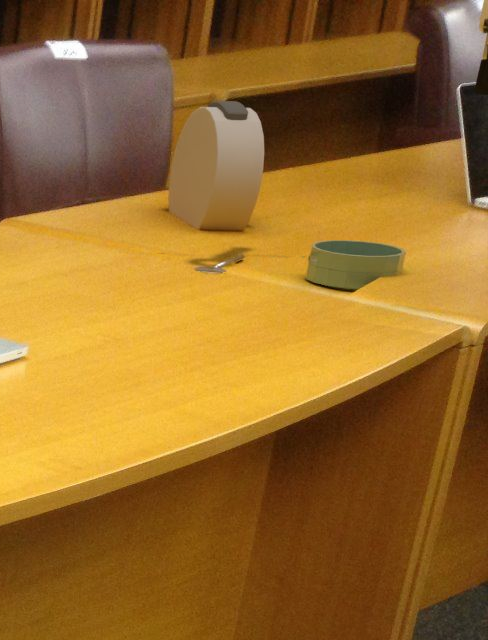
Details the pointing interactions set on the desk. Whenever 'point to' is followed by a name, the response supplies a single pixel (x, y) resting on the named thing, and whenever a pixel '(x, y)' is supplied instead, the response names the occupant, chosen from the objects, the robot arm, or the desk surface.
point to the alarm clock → (217, 167)
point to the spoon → (219, 265)
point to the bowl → (352, 263)
